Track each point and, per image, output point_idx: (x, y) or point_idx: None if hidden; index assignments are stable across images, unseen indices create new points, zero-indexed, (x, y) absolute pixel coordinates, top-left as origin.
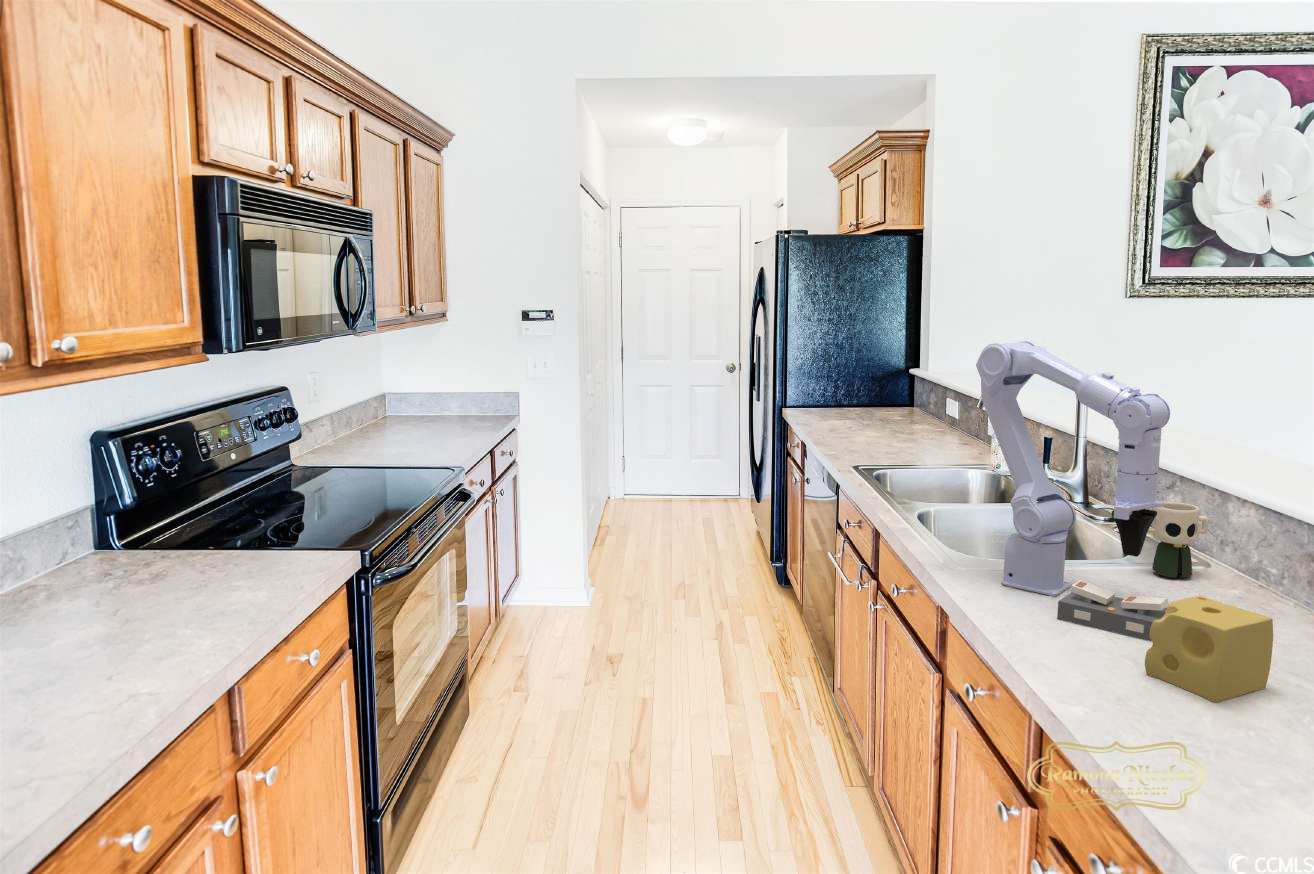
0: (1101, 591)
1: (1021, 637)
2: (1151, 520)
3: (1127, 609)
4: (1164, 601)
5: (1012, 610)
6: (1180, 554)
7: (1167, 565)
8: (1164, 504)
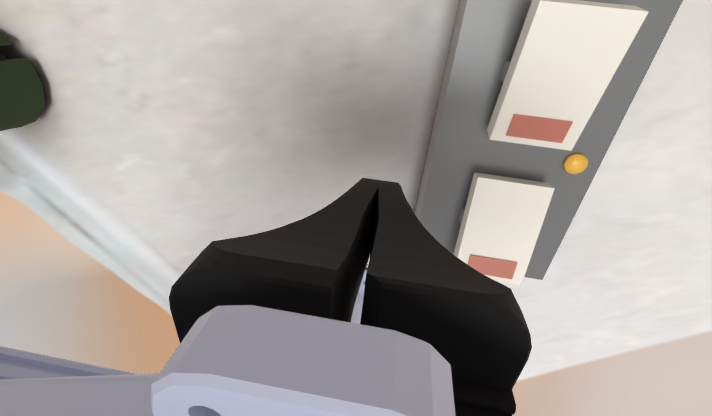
0: (499, 212)
1: (694, 290)
2: (344, 257)
3: None
4: (589, 4)
5: None
6: None
7: (8, 90)
8: (242, 324)
